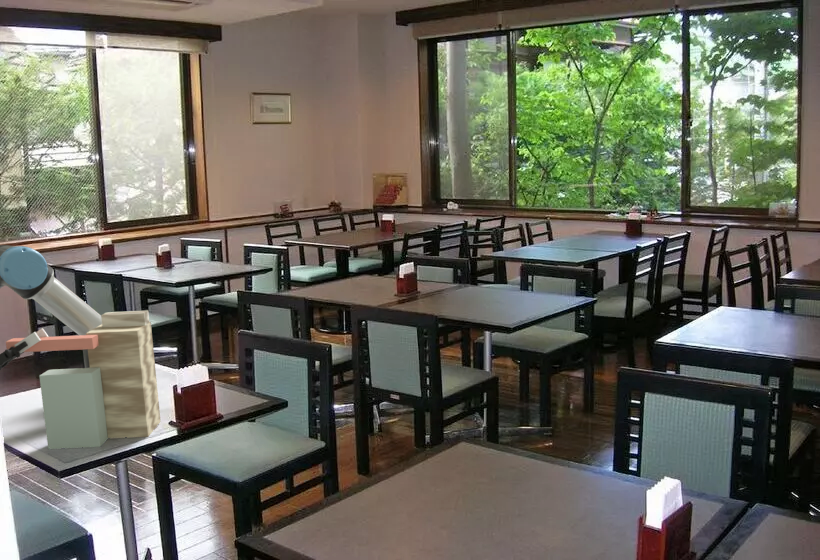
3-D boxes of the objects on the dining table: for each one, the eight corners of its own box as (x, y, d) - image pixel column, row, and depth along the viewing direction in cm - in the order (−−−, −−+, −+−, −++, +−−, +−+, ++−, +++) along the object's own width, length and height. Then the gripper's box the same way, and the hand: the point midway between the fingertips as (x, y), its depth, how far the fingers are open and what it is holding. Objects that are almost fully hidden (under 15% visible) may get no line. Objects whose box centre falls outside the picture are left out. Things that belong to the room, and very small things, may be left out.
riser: (57, 441, 234) (48, 369, 230) (107, 439, 234) (99, 367, 230) (48, 449, 228) (39, 375, 224) (100, 446, 228) (91, 373, 224)
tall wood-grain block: (112, 424, 246) (100, 312, 241) (160, 422, 246) (149, 309, 241) (97, 439, 234) (84, 320, 229) (148, 436, 234) (135, 318, 229)
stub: (14, 349, 228) (12, 338, 228) (98, 345, 228) (97, 334, 228) (7, 352, 224) (5, 341, 224) (93, 349, 224) (92, 337, 224)
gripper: (-5, 382, 236) (62, 338, 235) (-37, 400, 220) (35, 353, 218) (-22, 360, 236) (46, 316, 234) (-55, 377, 219) (18, 329, 217)
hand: (41, 334), depth 226 cm, fingers closed on stub, 4 cm apart
